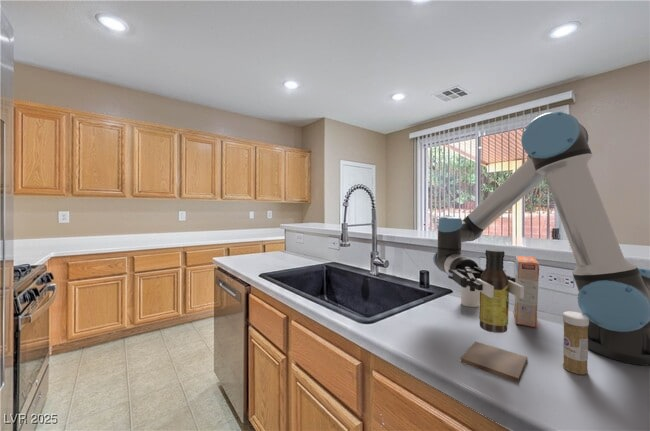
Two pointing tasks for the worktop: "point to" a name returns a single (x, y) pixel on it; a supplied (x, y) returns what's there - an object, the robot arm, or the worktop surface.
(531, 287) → the cracker box
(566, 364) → the sprinkles bottle
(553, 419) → the worktop surface
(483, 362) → the coaster board
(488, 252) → the sauce bottle
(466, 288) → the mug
